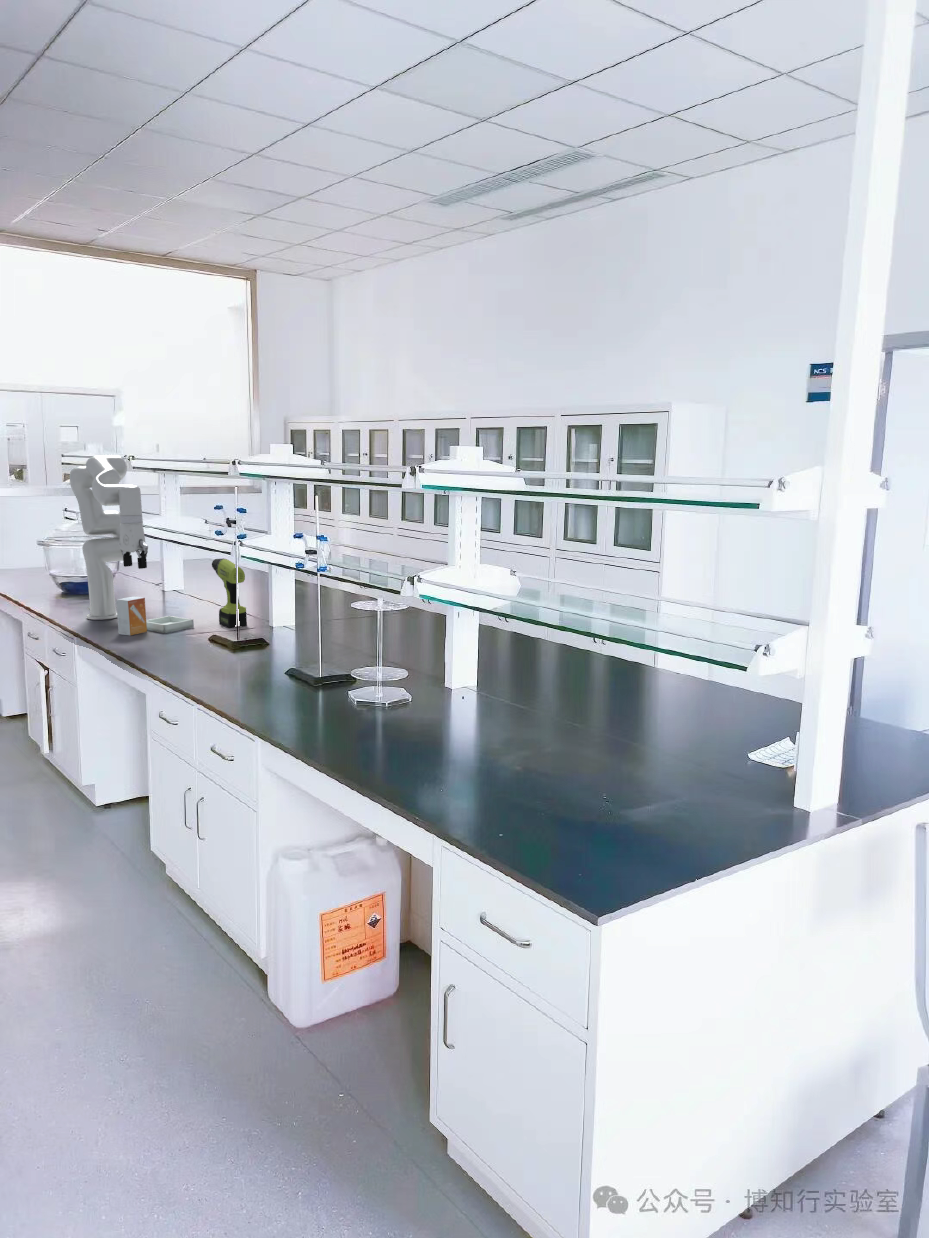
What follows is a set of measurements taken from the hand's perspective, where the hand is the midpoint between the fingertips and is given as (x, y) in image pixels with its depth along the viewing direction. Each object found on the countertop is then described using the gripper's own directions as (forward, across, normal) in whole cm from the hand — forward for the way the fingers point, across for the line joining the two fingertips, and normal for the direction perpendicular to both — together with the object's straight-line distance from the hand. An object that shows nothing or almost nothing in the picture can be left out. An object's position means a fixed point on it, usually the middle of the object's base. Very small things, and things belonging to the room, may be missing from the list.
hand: (135, 567), depth 332 cm
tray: (+24, 0, +11) cm, 27 cm away
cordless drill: (+25, +11, +31) cm, 41 cm away
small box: (+25, -2, -2) cm, 25 cm away
